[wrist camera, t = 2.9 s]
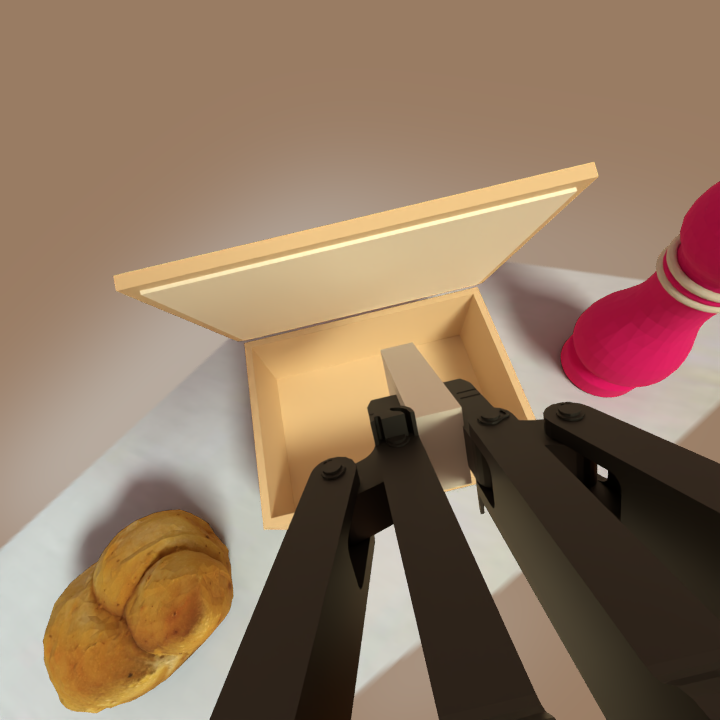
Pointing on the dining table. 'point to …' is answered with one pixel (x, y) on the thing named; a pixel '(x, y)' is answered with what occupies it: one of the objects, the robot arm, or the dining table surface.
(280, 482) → the mailer box
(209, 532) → the bread roll
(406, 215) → the lid
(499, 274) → the dining table surface
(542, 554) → the robot arm
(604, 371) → the pepper mill
